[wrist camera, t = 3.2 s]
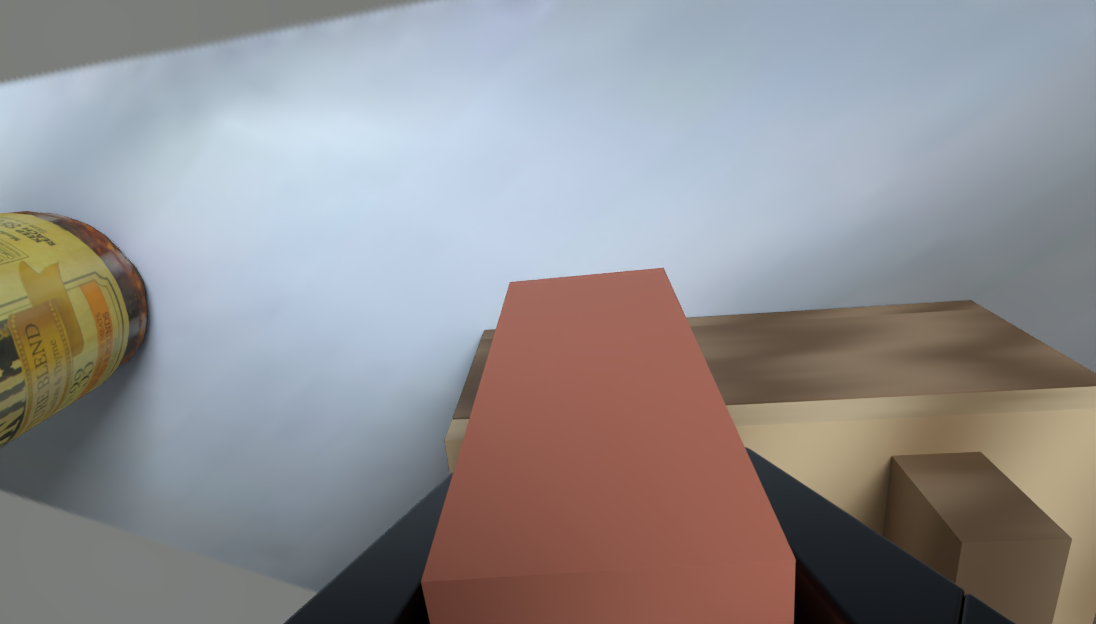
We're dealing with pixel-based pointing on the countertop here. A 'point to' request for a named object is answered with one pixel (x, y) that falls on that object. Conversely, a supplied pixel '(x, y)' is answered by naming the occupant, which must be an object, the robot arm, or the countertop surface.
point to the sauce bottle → (61, 315)
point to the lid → (952, 484)
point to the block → (604, 474)
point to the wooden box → (861, 355)
